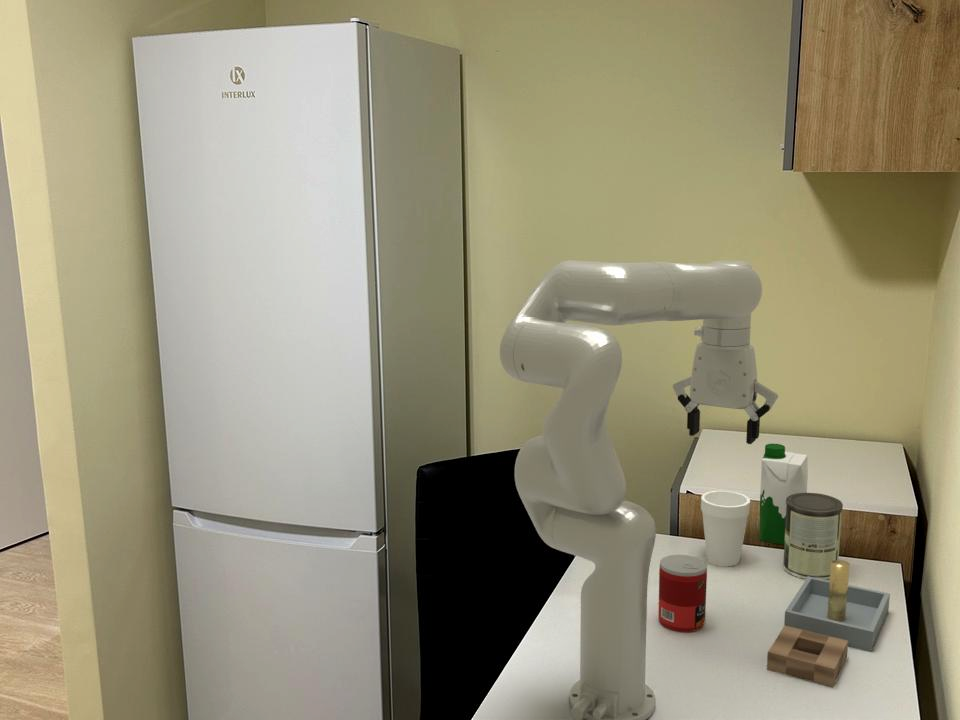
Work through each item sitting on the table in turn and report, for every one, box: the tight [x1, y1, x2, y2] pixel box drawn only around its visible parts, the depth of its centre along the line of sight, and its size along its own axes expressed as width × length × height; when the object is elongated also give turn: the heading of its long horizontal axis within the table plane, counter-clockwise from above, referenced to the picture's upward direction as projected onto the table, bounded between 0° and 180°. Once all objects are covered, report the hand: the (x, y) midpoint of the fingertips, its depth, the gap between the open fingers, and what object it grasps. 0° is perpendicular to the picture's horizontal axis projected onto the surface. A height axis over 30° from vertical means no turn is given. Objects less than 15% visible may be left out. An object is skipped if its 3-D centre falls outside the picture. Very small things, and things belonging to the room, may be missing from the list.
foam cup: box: [700, 490, 751, 567], centre depth 186 cm, size 10×9×13 cm
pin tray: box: [783, 576, 891, 653], centre depth 162 cm, size 16×14×4 cm
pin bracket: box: [766, 626, 849, 688], centre depth 148 cm, size 10×10×3 cm
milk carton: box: [758, 443, 809, 545], centre depth 196 cm, size 9×9×20 cm
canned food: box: [658, 554, 708, 633], centre depth 161 cm, size 8×8×11 cm
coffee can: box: [782, 492, 844, 581], centre depth 181 cm, size 10×10×14 cm
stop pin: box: [827, 559, 850, 622], centre depth 161 cm, size 3×3×10 cm
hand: (722, 437), depth 156 cm, fingers open, 9 cm apart
